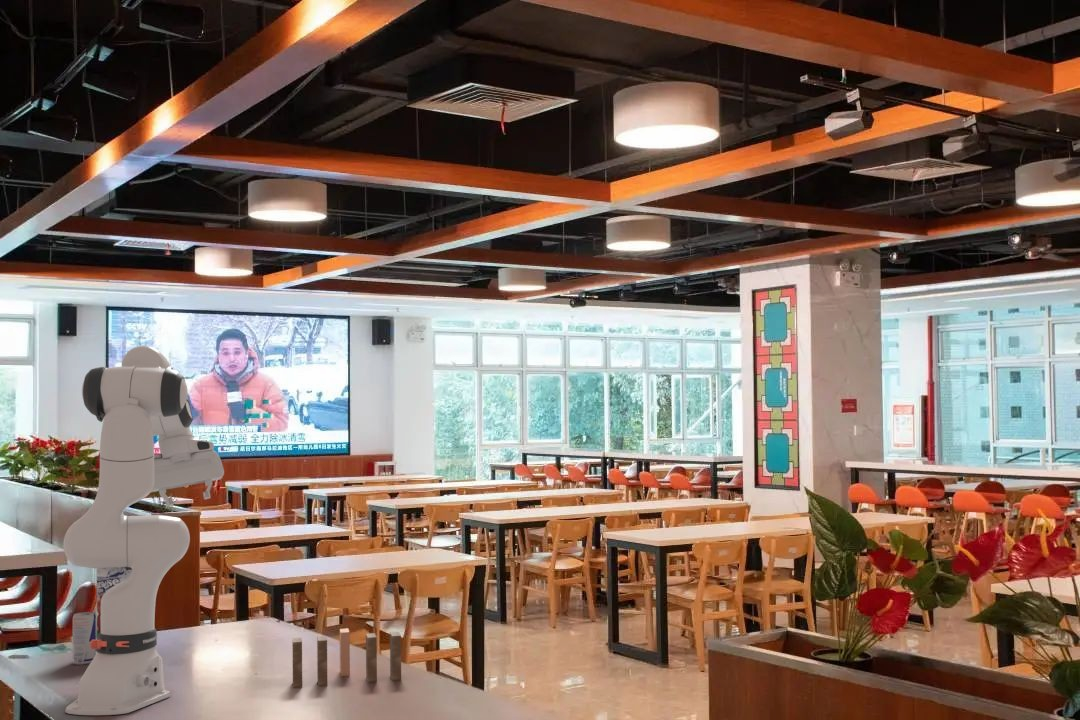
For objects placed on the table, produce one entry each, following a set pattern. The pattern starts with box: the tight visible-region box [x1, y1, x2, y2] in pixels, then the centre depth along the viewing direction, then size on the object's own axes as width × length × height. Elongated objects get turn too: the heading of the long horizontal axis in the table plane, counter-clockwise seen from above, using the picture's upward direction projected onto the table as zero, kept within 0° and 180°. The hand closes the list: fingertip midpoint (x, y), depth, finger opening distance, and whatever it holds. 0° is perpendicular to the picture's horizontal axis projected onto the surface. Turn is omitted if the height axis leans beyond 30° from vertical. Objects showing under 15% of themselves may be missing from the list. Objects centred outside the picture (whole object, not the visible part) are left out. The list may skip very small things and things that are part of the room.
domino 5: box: [389, 631, 402, 682], centre depth 257 cm, size 2×5×10 cm, turn 14°
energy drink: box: [72, 611, 97, 666], centre depth 279 cm, size 5×5×12 cm
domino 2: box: [316, 635, 328, 687], centre depth 253 cm, size 2×5×10 cm, turn 13°
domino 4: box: [365, 632, 378, 683], centre depth 256 cm, size 2×5×10 cm, turn 14°
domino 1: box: [291, 637, 303, 689], centre depth 252 cm, size 2×5×10 cm, turn 14°
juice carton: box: [96, 566, 132, 640], centre depth 291 cm, size 9×10×27 cm
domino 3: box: [339, 627, 351, 677], centre depth 262 cm, size 2×5×10 cm, turn 14°
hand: (189, 502), depth 290 cm, fingers open, 8 cm apart
